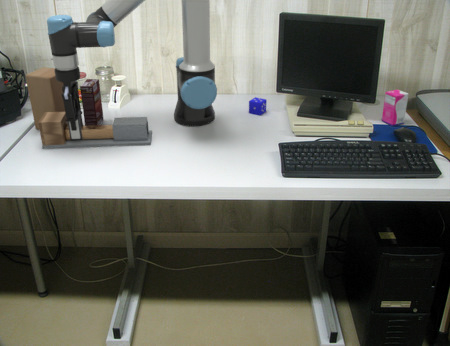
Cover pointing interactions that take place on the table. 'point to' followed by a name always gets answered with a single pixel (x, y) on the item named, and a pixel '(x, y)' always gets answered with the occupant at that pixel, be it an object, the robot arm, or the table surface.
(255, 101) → the die
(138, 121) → the sleeve
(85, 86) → the supplement box
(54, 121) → the socket block
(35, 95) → the wooden block
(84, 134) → the brown piece
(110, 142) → the base board
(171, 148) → the table surface
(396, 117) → the supplement box
